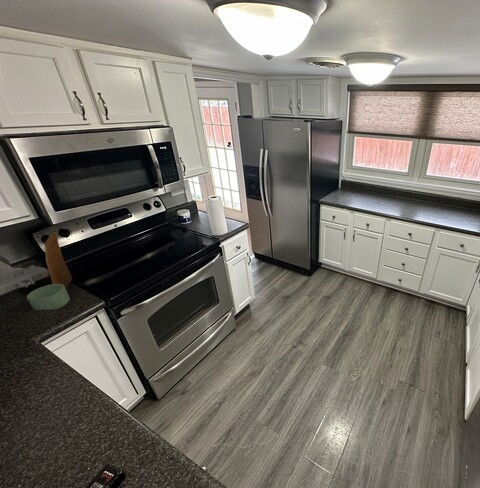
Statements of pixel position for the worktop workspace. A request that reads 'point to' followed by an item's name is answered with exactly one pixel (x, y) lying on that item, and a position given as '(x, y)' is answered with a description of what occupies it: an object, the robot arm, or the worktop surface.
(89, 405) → the worktop surface
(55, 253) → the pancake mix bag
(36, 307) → the bowl
